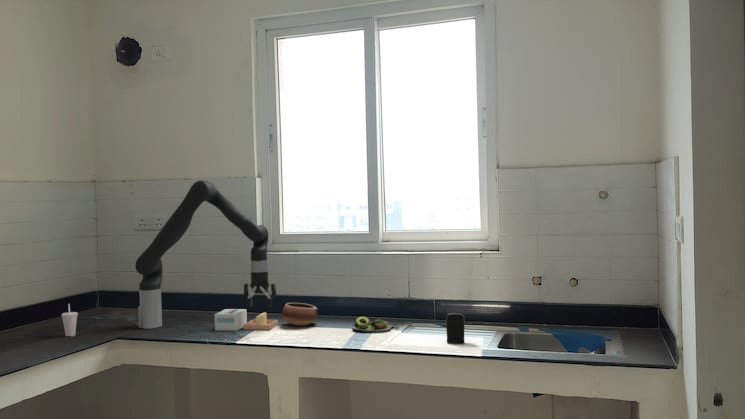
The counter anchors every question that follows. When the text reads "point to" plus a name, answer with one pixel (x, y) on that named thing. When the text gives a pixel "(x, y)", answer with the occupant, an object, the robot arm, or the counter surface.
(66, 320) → the smoothie
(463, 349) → the counter surface
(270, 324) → the dish
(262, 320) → the pale yellow flat piece
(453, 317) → the battery
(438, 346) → the counter surface
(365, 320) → the salad plate
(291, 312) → the bowl
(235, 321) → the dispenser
